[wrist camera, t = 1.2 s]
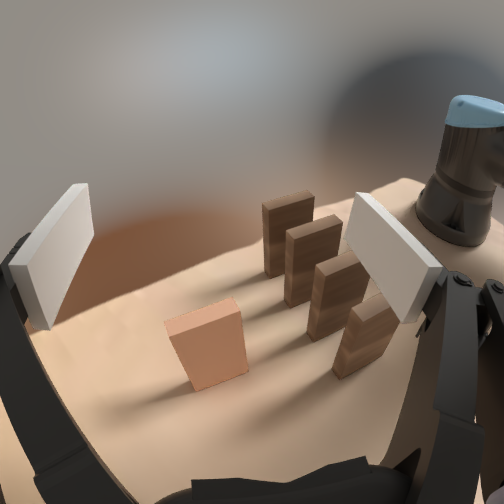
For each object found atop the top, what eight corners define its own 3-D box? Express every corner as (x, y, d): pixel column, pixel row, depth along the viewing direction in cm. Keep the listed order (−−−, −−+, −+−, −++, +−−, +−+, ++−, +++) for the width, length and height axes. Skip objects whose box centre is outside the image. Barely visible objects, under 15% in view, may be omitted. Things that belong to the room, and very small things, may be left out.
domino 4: (306, 332, 36) (315, 264, 28) (348, 312, 37) (366, 244, 30) (313, 342, 35) (325, 276, 27) (355, 321, 36) (376, 254, 29)
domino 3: (283, 299, 40) (286, 230, 32) (324, 282, 41) (334, 214, 34) (290, 308, 38) (294, 239, 31) (330, 290, 40) (342, 222, 33)
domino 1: (191, 379, 32) (163, 321, 25) (242, 359, 34) (232, 296, 26) (196, 391, 31) (168, 336, 23) (248, 371, 33) (240, 310, 25)
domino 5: (331, 368, 32) (351, 307, 25) (374, 344, 34) (402, 280, 26) (339, 380, 31) (362, 321, 24) (382, 355, 33) (414, 292, 25)
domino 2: (264, 271, 43) (261, 202, 36) (302, 256, 45) (307, 190, 38) (269, 278, 42) (268, 210, 35) (308, 263, 44) (314, 196, 36)
